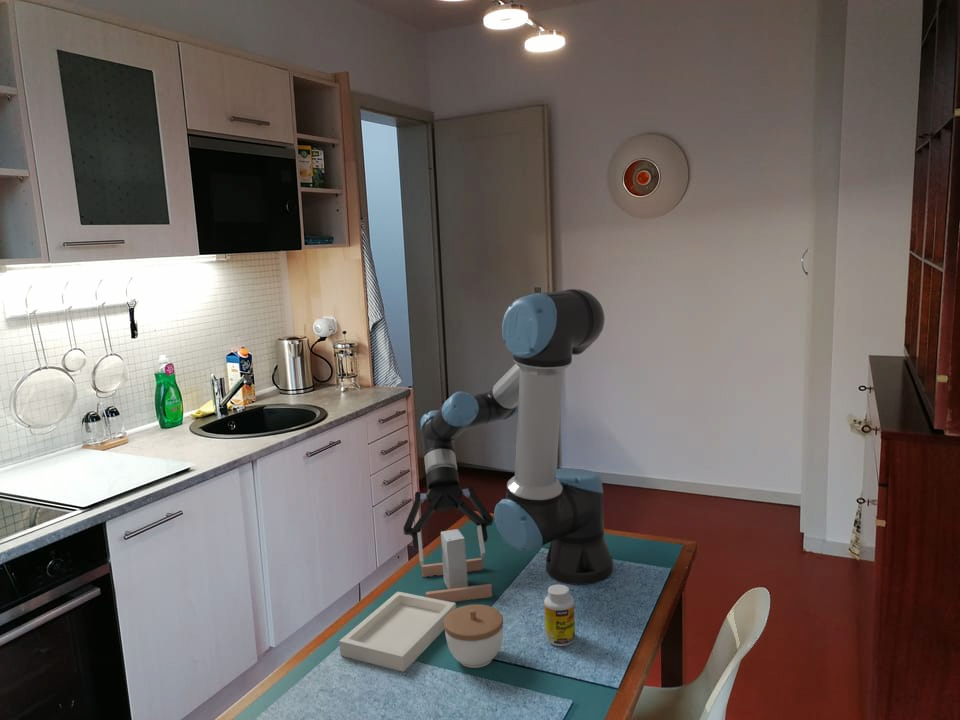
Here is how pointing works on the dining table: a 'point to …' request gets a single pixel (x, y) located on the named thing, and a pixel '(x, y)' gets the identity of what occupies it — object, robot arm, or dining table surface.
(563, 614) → the supplement bottle
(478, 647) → the lidded jar
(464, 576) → the skincare box
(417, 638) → the cream tray
